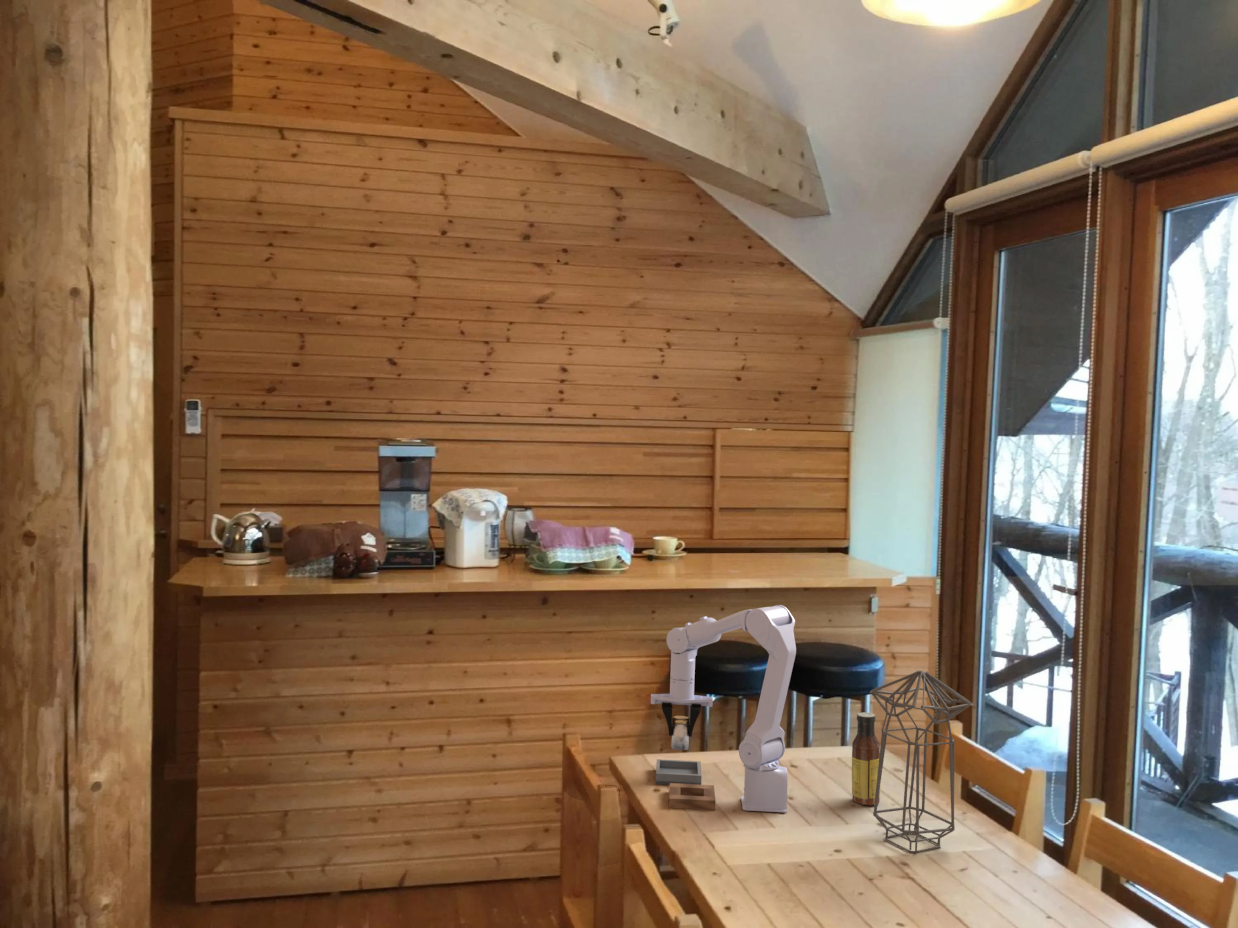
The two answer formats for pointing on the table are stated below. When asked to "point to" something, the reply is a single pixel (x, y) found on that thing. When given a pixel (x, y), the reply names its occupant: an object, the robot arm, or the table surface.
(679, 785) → the block
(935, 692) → the geometric lantern
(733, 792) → the table surface
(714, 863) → the table surface
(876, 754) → the sauce bottle
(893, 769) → the table surface
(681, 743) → the gold and silver cylinder
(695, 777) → the tray
